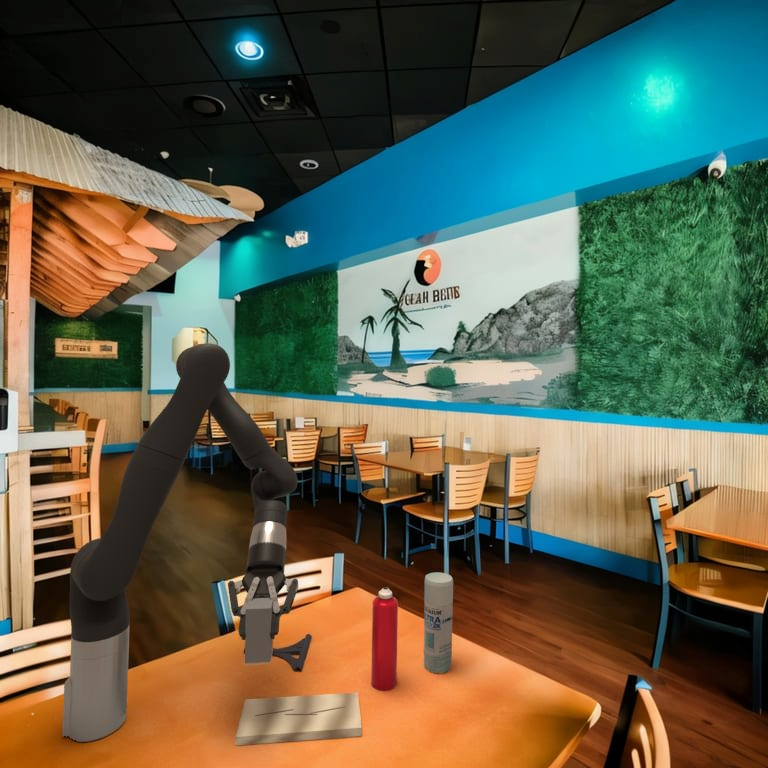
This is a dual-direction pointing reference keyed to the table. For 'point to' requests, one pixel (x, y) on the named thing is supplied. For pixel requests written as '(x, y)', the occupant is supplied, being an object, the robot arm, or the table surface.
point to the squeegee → (294, 653)
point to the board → (299, 718)
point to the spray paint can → (438, 622)
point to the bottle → (384, 641)
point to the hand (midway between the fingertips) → (258, 637)
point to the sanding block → (258, 631)
